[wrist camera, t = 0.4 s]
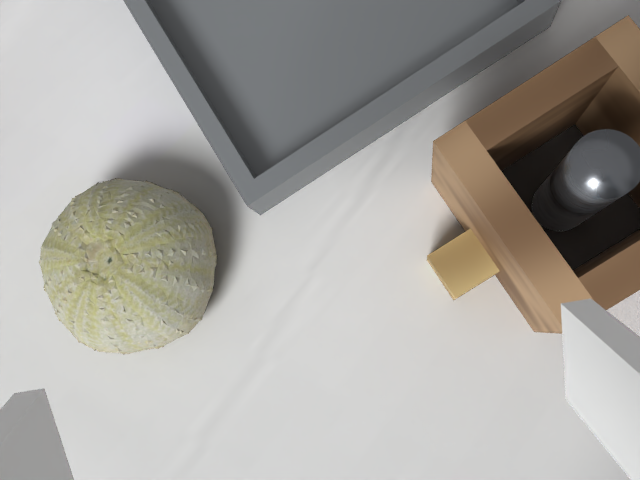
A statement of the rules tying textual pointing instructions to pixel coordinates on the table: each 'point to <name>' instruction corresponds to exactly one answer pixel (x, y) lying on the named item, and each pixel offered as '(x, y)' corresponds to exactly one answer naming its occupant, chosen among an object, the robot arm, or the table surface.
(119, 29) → the table surface
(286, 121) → the tray
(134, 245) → the sea urchin shell
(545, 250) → the wooden light box
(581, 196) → the grey rounded cylinder
